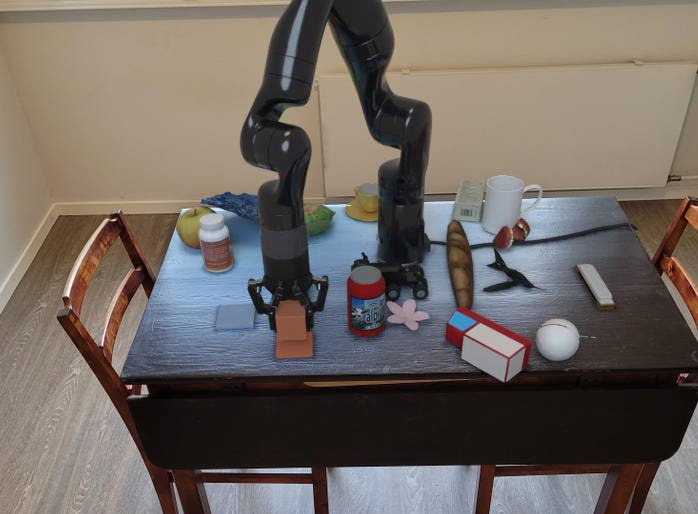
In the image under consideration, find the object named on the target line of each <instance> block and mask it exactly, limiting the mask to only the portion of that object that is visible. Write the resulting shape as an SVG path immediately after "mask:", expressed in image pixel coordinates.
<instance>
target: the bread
mask: <svg viewBox="0 0 698 514" xmlns="http://www.w3.org/2000/svg"><path fill="white" fill-rule="evenodd" d="M446 228H447V229H446V241H445V242H446V246H445V247H446V248H445V252H446V260H447V269H448V275H449V280H450V285H451V289H452V293H453V297H454V300H455V304H456V307H457V309H458V308H459V307H461V306H463V307H465V308H467V309H469V310H471V311H472V307H473V304H474V288H475V287H474V286H475V283H474V282H475V281H474V260H473V254H472V249H471V248H470V245H471V244H470V242H469V238H468V236H467V233H466V230H465V229H464V227H463V224H462V223H461V222H460V220H454V219H451V220H450V222H449V223H448V224H447V227H446Z"/></svg>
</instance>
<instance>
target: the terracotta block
mask: <svg viewBox="0 0 698 514" xmlns="http://www.w3.org/2000/svg"><path fill="white" fill-rule="evenodd" d="M275 318H276V327H277V333H276V337H277V336H278V341H282V340H304V339H307V331H306V317H305V310H304V308H303V307H302V306H301V305H300V303H299V301H298V300H297V301H293V300H287V301H280V303H279V306H278V308H277V310H276V317H275Z"/></svg>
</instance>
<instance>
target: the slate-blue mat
mask: <svg viewBox="0 0 698 514" xmlns="http://www.w3.org/2000/svg"><path fill="white" fill-rule="evenodd" d="M255 318H256V309H255V306H254V304H253V303H249V304H245V303H244V304H228V305H219V306H218V310H217V316H216V322H215V331H224V330H245V329H247V330H248V329H254V328H255Z"/></svg>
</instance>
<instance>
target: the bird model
mask: <svg viewBox="0 0 698 514" xmlns="http://www.w3.org/2000/svg"><path fill="white" fill-rule="evenodd" d="M492 249H493V253H494V259H495V261H494V262H492V263H488V264H486V267H488V268H490V269H494V270H496V271H499V272H501V273H504V275H506V276H507V277H508V278H509V279H511V280H506V281H503V282H499V283H496V284H492V285H489V286H487V287H483V288H482V291H483V292H497V291H503V290H508V289H510V288H513V287H515V286H519V285H521V286H522V287H524V288H526V289H528V290H531V289H537V290H543V291H546V289H545V288H541V287H538V286H535V285H534V284H533V283H532V281H530V280H529V279H528V277H527V276H525V275H524V274H523V273H522V272H520V271H519V270H517V269H514V268H511V267H509V266H508V265H507V263H505V260H504V259H503V257H502V256H501V253H500V252H499V250H498V249H497V248H496V247H495V246H492Z"/></svg>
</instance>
